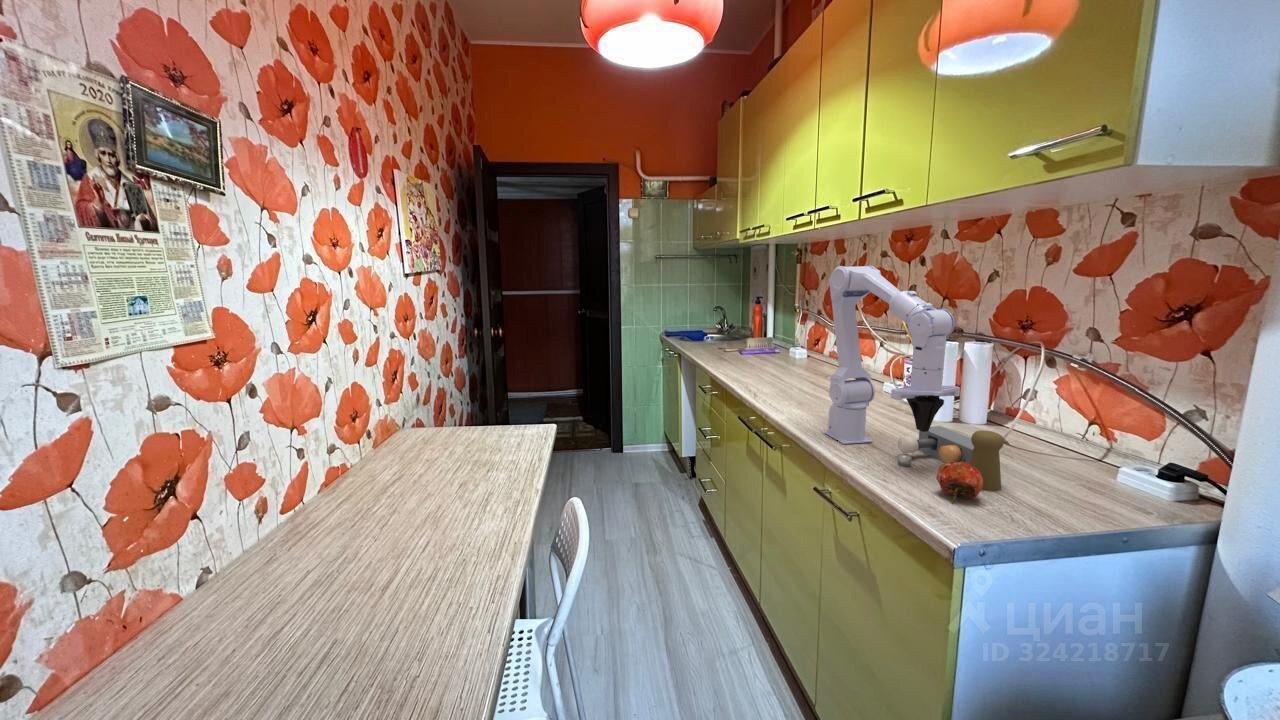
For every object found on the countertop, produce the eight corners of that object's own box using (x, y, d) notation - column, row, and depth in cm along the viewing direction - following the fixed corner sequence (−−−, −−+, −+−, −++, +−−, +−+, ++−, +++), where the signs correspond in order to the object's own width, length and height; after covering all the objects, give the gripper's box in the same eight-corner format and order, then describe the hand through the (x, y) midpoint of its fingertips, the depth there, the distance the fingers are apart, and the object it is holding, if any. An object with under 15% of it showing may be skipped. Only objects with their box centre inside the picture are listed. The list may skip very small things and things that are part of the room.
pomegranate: (979, 520, 89) (995, 476, 93) (967, 495, 86) (984, 451, 90) (935, 509, 95) (953, 468, 99) (922, 486, 92) (941, 445, 96)
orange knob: (938, 459, 108) (939, 443, 108) (976, 456, 110) (977, 440, 109) (950, 465, 105) (952, 449, 104) (989, 461, 106) (991, 446, 106)
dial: (895, 463, 110) (895, 454, 110) (905, 462, 111) (906, 453, 110) (903, 467, 108) (903, 458, 108) (913, 466, 108) (914, 457, 108)
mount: (917, 449, 119) (919, 427, 118) (938, 447, 119) (940, 426, 118) (971, 475, 103) (973, 450, 102) (994, 473, 104) (997, 448, 103)
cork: (1008, 491, 95) (1015, 436, 93) (977, 491, 95) (982, 437, 94) (987, 478, 101) (993, 427, 99) (958, 478, 101) (962, 427, 100)
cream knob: (897, 449, 115) (898, 435, 114) (934, 447, 116) (935, 432, 115) (907, 455, 111) (908, 440, 110) (945, 452, 112) (946, 437, 112)
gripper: (909, 373, 97) (904, 438, 100) (974, 369, 99) (967, 433, 102) (886, 366, 104) (882, 428, 107) (947, 363, 106) (942, 423, 109)
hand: (922, 430), depth 105 cm, fingers closed
